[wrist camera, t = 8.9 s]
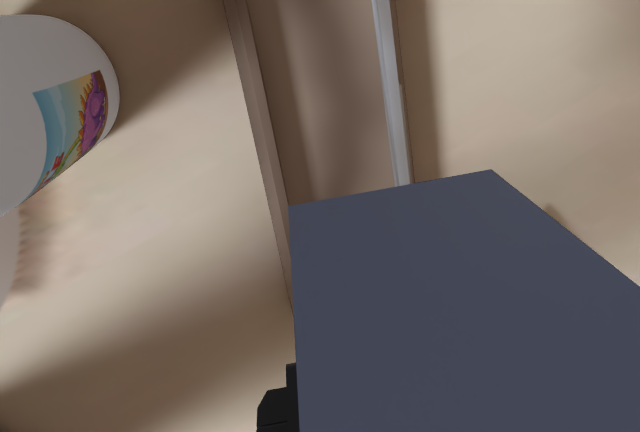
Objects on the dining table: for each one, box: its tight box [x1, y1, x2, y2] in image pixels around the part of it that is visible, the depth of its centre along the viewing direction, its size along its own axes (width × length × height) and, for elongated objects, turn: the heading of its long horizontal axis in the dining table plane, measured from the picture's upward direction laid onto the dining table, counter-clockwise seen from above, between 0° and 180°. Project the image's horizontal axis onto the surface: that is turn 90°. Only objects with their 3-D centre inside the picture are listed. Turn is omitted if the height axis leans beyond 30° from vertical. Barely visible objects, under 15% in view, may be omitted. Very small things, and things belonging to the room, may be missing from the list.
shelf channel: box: [223, 0, 415, 317], centre depth 31 cm, size 9×22×3 cm, turn 10°
